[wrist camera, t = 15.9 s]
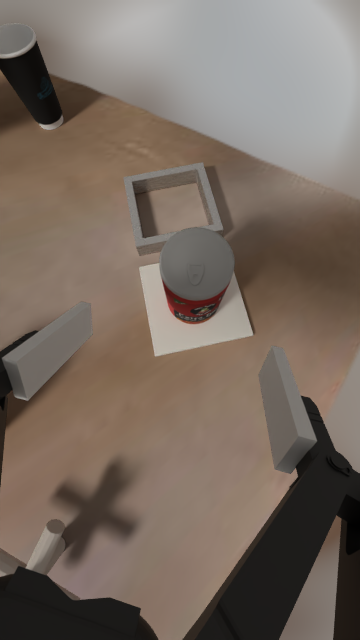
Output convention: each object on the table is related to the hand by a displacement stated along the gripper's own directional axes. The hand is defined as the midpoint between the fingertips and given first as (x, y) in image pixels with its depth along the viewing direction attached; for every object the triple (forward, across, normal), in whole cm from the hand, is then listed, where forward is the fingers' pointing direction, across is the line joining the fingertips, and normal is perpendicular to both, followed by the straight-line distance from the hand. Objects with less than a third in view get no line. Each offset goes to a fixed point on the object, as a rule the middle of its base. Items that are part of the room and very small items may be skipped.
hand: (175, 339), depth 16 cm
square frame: (+27, -7, +6) cm, 29 cm away
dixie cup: (+39, -36, +17) cm, 56 cm away
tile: (+17, 0, -5) cm, 18 cm away
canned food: (+17, 0, -4) cm, 17 cm away
